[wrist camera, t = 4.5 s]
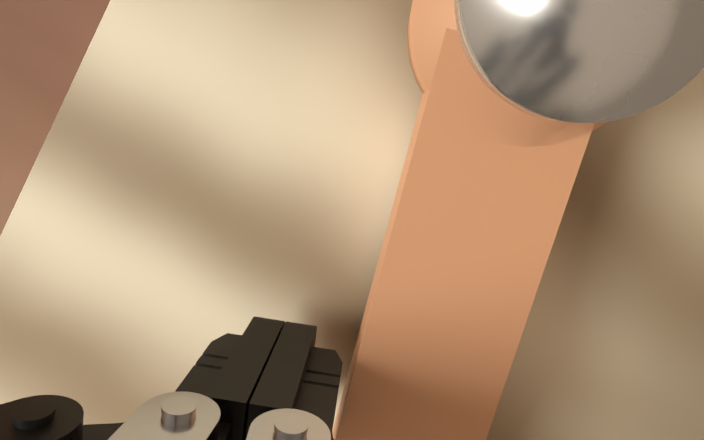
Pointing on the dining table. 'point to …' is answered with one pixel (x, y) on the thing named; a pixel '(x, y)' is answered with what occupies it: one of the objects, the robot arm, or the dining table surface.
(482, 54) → the silver metal ball
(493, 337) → the link
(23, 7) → the dining table surface
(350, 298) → the board
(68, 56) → the dining table surface
